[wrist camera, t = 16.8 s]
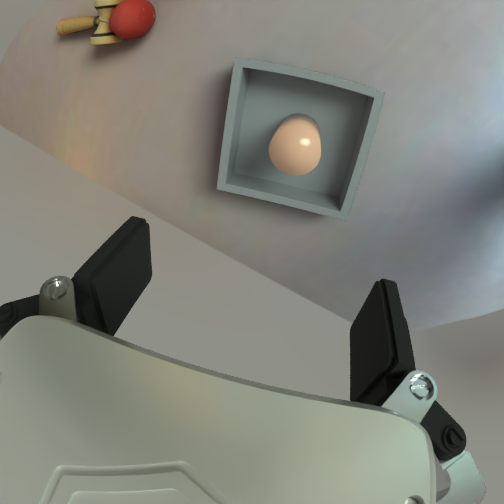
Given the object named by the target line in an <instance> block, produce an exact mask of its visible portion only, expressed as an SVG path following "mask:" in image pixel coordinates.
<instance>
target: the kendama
mask: <svg viewBox="0 0 504 504" xmlns="http://www.w3.org/2000/svg"><path fill="white" fill-rule="evenodd" d="M94 7H95V8H96V9H97V10H98V12H99V15H100V16H99V17H95V16H86V17H77V18H66V19H62V20H60V21H59V22H58V24H57V26H56V31H57V33H58V34H59V35H65V34H69V33H72V32H77V31H81V30H85V29H89V28H92V27H96V26H98V28H97V30H96V31H95V33H94V34H93V35H92V36H91V37H90V44H91V45H102V44H111V43H117V42H121V41H123V38H126V39H131V38H136V37H139V36H141V35H143V34H145V33H146V32H147V31H148V30H150V28H151V27H152V25H153V24H154V21H155V17H156V13H155V9H154V7H153V5H152V4H151V3H150V2H149V1H147V0H96V1H95V5H94Z"/></svg>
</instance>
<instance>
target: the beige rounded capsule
mask: <svg viewBox="0 0 504 504" xmlns="http://www.w3.org/2000/svg"><path fill="white" fill-rule="evenodd" d="M269 155H270V158H271V161H272V163H273V164H274V165H275V166H276V168H278V169H279V170H280V171H282V172H283V173H286V174H289V175H294V176H298V175H304V174H306V173H309V172H310V171H312V170H313V169H314V168H315V167H316V166H317V164H318V163H319V160H320V157H321V141H320V129H319V126H318V124H317V123H316V121H315V120H314V119H313V118H312V117H310V116H308V115H306V114H302V113H295V114H291V115H289V116H287V117H286V118H285V119H284V120H283V121H282V122H281V124H280V126H279V127H278V129H277V131H276V132H275V134H274V136H273V138H272V140H271V142H270V145H269Z"/></svg>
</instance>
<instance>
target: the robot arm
mask: <svg viewBox="0 0 504 504" xmlns="http://www.w3.org/2000/svg"><path fill="white" fill-rule="evenodd" d="M151 277H152V266H151V251H150V231H149V224H148V223H146V220H145V219H143V218H139V217H134V216H132V217H130V218H129V219H128V220H127V221H126V222H125V223H124V224H123V225H122V226H121V227H120V228H119V229H118V230H117V231H116V232H115V233H114V234H113V235H112V236H111V237H110V238H109V239H108V240H107V241H106V242H105V243H104V244H103V245H102V246H101V247H100V248H99V249H98V250H97V251H96V252H95V253H94V254H93V255H92V256H91V257H90V258H89V259H88V260H87V261H86V262H85V263H84V265H82V267H81V268H80V269H79V270H78V271H77V272H76V273H75V274H74V277H73V278H72V279H70V278H68V277H65V276H55V277H52V278H50V279H49V280H47V281H46V282H45V283H44V284H43V285H42V286H41V288H40V294H38V295H35V296H31V297H28V298H24V299H20V300H16V301H13V302H9V303H6V304H3V305H2V306H0V504H479V503H481V501H482V500H483V498H484V496H485V493H486V486H485V483H484V481H483V478H482V476H481V474H480V472H479V471H478V468H477V466H476V464H475V462H474V460H473V458H472V456H471V454H470V452H469V451H468V452H465V450H464V449H465V446H466V435H465V432H464V430H463V429H462V428H461V426H460V425H459V424H458V423H456V421H455V420H454V419H453V418H452V417H451V416H450V415H449V414H448V413H447V412H446V411H445V410H444V409H443V408H442V407H441V406H440V405H439V404H438V402H437V401H436V400H435V399H436V396H437V386H436V383H435V382H434V380H433V378H432V377H431V376H430V375H428V374H427V373H425V372H423V371H419V370H416V369H415V362H414V356H413V351H412V345H411V340H410V334H409V330H408V325H407V321H406V318H405V317H404V314H403V309H402V305H401V301H400V297H399V292H398V288H397V284H396V282H394V281H391V280H387V279H381V280H380V281H376V282H375V284H374V286H373V288H372V290H371V292H370V294H369V295H368V297H367V299H366V301H365V303H364V305H363V306H362V308H361V310H360V312H359V313H358V315H357V317H356V319H355V320H354V322H353V324H352V326H351V329H350V401H346V400H340V399H334V398H329V397H323V396H318V395H312V394H307V393H302V392H297V391H292V390H287V389H283V388H278V387H274V386H269V385H265V384H261V383H257V382H253V381H249V380H245V379H241V378H237V377H234V376H230V375H226V374H223V373H219V372H216V371H212V370H209V369H206V368H202V367H199V366H196V365H193V364H189V363H186V362H183V361H180V360H177V359H174V358H171V357H168V356H165V355H162V354H159V353H156V352H154V351H151V350H148V349H145V348H142V347H140V346H137V345H134V344H132V343H129V342H127V341H124V340H121V339H119V338H116V337H113V336H114V334H115V333H116V331H117V330H118V328H119V327H120V325H121V323H122V322H123V320H124V319H125V317H126V316H127V314H128V313H129V311H130V310H131V308H132V307H133V305H134V303H135V302H136V301H137V299H138V298H139V296H140V295H141V293H142V292H143V290H144V289H145V288H146V286H147V285H148V283H149V282H150V280H151Z"/></svg>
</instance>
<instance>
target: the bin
mask: <svg viewBox="0 0 504 504" xmlns="http://www.w3.org/2000/svg"><path fill="white" fill-rule="evenodd" d="M384 96H385V92H383V91H380V90H378V89H375V88H372V87H369V86H365V85H362V84H359V83H356V82H352V81H349V80H346V79H342V78H338V77H335V76H331V75H327V74H323V73H319V72H315V71H311V70H306V69H302V68H297V67H292V66H287V65H282V64H276V63H270V62H264V61H258V60H250V59H243V58H235V60H234V66H233V72H232V79H231V85H230V92H229V98H228V105H227V112H226V119H225V127H224V134H223V142H222V149H221V157H220V166H219V174H218V182H217V190H222V191H227V192H231V193H236V194H240V195H244V196H249V197H253V198H257V199H262V200H266V201H270V202H274V203H278V204H283V205H287V206H291V207H295V208H299V209H302V210H306V211H310V212H314V213H318V214H322V215H325V216H329V217H333V218H337V219H340V220H344V221H346V219H347V217H348V214H349V211H350V208H351V205H352V202H353V199H354V196H355V194H356V191H357V188H358V185H359V181H360V178H361V175H362V172H363V169H364V166H365V163H366V159H367V156H368V153H369V150H370V146H371V143H372V140H373V136H374V133H375V129H376V126H377V122H378V119H379V115H380V111H381V107H382V104H383V100H384ZM295 113H302V114H306V115H308V116H310V117H312V118H313V119H314V120H315V121H316V123H317V124H318V126H319V129H320V141H321V157H320V160H319V163H318V164H317V166H316V167H315V168H314V169H313V170H312V171H310V172H309V173H306V174H304V175H298V176H294V175H289V174H286V173H283V172H282V171H280V170H279V169H278V168H276V166H275V165H274V164H273V163H272V161H271V158H270V155H269V145H270V142H271V140H272V138H273V136H274V134H275V132H276V131H277V129H278V127H279V126H280V124H281V122H282V121H283V120H284V119H285V118H286V117H287V116H289V115H291V114H295Z"/></svg>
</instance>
